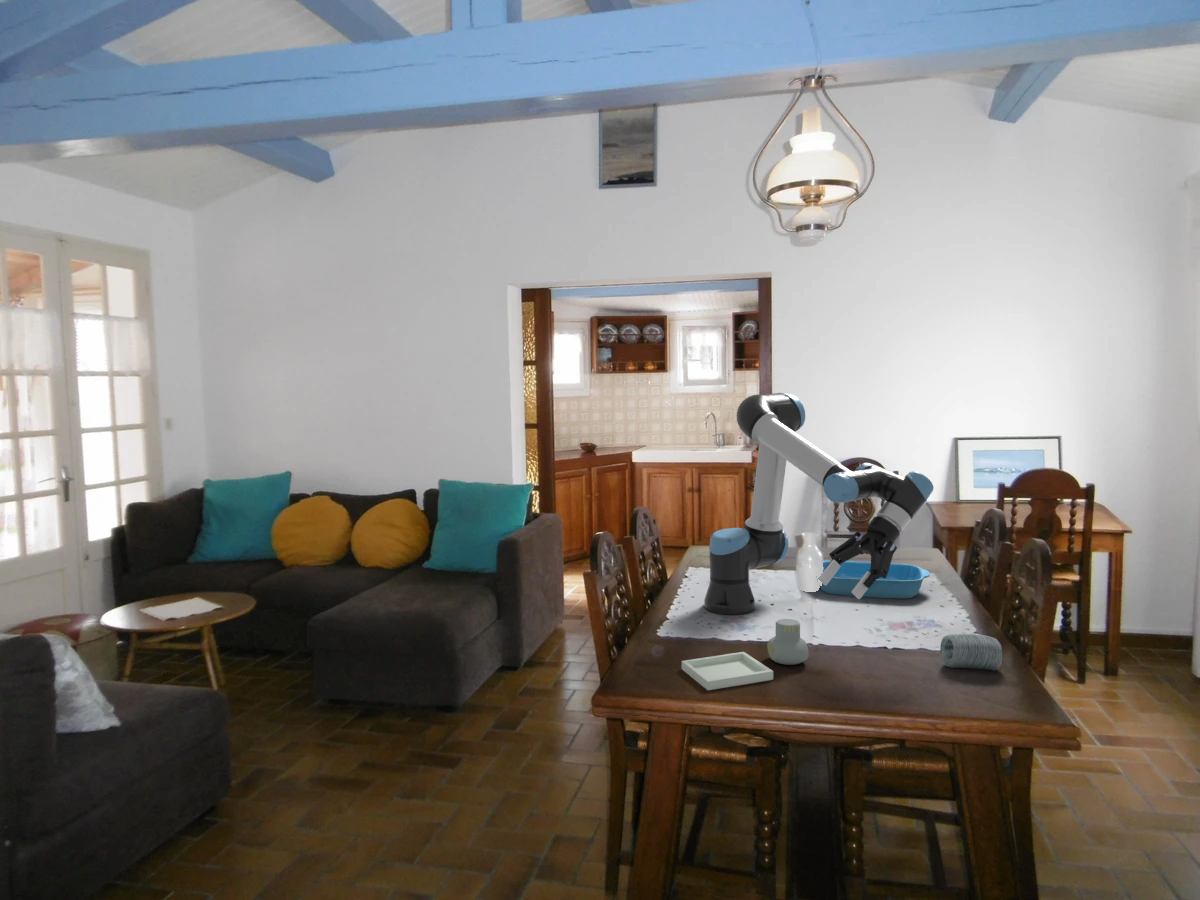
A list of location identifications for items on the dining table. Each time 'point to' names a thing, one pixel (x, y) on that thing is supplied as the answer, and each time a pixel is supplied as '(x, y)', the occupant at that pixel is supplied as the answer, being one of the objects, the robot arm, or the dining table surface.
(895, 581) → the casserole dish
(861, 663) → the dining table surface
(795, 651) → the air freshener
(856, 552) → the robot arm
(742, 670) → the sage tray
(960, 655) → the spool
